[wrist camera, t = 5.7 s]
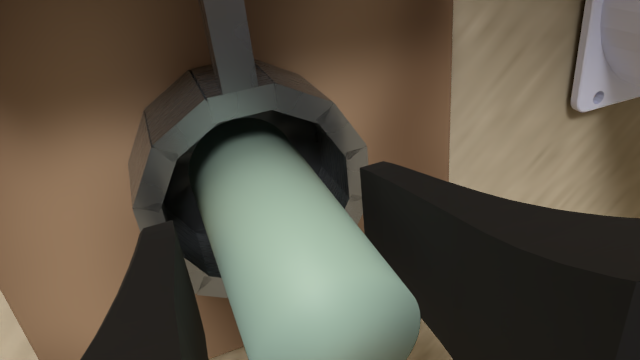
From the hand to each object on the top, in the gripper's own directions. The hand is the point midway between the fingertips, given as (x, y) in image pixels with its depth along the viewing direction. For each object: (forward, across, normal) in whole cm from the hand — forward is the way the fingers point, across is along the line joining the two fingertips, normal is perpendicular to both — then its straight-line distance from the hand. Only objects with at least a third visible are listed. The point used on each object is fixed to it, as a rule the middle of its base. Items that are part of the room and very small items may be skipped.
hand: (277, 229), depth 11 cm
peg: (+3, 0, 0) cm, 3 cm away
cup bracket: (+5, 0, 0) cm, 5 cm away
